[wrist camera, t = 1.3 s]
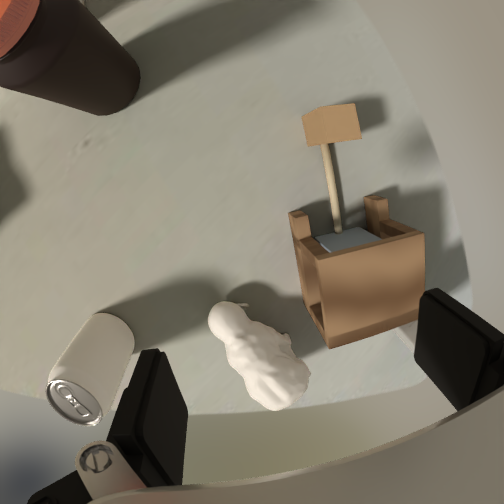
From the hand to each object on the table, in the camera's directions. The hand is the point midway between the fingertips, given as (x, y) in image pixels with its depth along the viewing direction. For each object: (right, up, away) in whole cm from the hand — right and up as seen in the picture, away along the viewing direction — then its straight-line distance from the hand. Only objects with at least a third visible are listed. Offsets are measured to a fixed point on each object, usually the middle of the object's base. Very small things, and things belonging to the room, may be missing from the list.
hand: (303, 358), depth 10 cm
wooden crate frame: (+7, +4, +21) cm, 23 cm away
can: (-18, -6, +22) cm, 29 cm away
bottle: (-16, +20, +15) cm, 29 cm away
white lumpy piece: (-2, -5, +24) cm, 24 cm away
